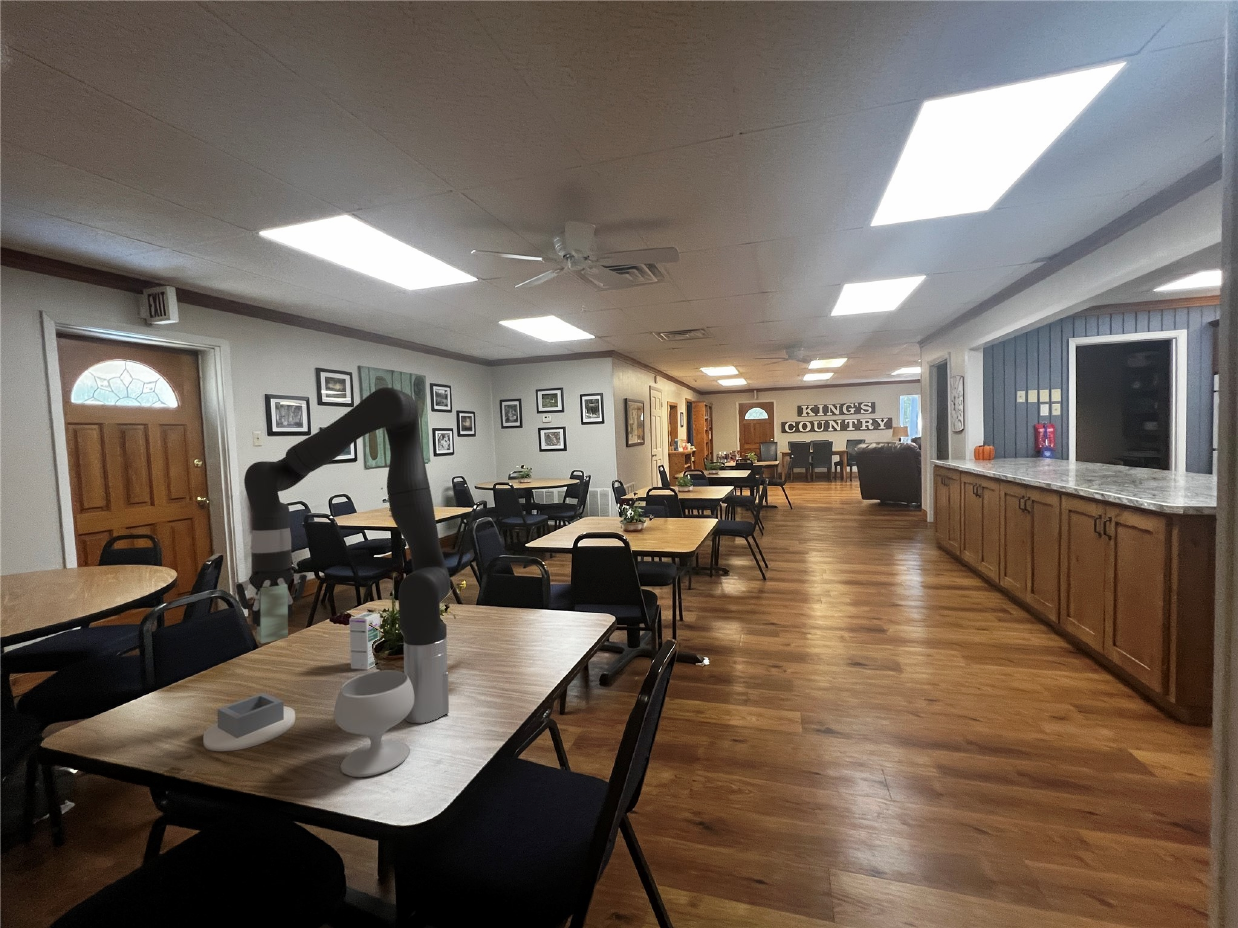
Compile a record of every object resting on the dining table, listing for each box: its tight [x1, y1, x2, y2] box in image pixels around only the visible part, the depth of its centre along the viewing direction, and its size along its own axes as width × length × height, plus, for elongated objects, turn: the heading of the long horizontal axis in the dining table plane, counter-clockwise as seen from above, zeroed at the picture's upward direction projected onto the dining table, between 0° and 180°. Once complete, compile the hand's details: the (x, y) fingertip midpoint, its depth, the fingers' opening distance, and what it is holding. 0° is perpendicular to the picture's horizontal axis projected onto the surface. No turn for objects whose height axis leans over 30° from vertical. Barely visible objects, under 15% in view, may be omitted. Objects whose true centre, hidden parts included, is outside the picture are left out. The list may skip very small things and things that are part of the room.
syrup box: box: [349, 611, 381, 671], centre depth 144 cm, size 6×6×14 cm
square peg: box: [256, 585, 289, 644], centre depth 115 cm, size 5×5×12 cm
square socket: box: [202, 692, 296, 752], centre depth 109 cm, size 16×16×6 cm
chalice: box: [333, 669, 414, 778], centre depth 97 cm, size 14×14×15 cm
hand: (272, 622), depth 115 cm, fingers closed on square peg, 5 cm apart
